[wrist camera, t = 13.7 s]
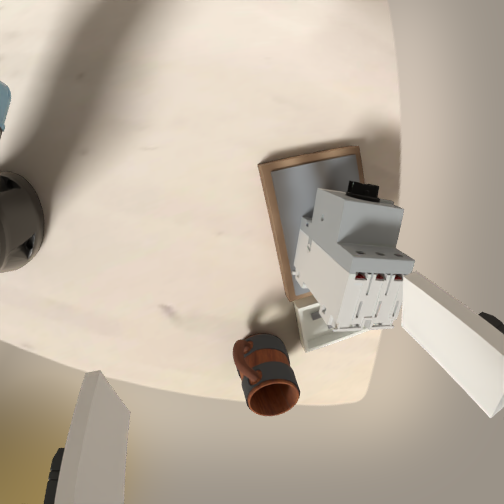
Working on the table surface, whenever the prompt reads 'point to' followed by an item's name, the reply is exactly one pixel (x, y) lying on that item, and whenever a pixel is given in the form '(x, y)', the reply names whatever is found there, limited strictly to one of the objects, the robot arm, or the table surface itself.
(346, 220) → the circuit breaker
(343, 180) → the framed panel
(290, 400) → the mug
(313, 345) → the tray
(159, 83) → the table surface
